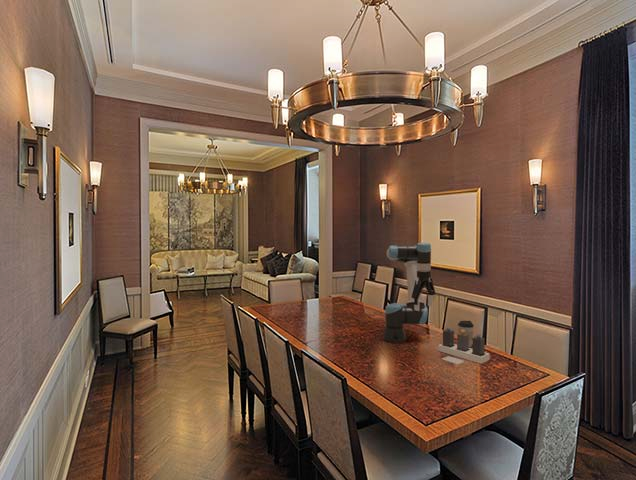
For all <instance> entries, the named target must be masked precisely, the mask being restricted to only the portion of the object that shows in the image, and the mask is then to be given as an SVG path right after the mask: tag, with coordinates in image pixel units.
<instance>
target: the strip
mask: <svg viewBox="0 0 636 480" xmlns="http://www.w3.org/2000/svg"><path fill="white" fill-rule="evenodd" d="M485 343H486V342H485V338H484V337H482V336H481V333H479V332H477V333H476V336H473V338H472V347H469V350H468V351H466V352H464V351H460V350H457V344H456V343H455V331H454V330H453V329H451V326H449V325H448V326H446V328H445V329H444V330H442V343H440V344H438V345H437V352H439V353H444V354H445V355H448V356H451V357H452V356H453V357H455V358H458V359H461V360H464V361H465V360H466V361H469V362H472V363H475V364H479V365H483V364H485V363H487V362H489V361H491V360H490V358H491V357H490V356H491V355H490V353H488V352H485V345H486V344H485Z"/></svg>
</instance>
